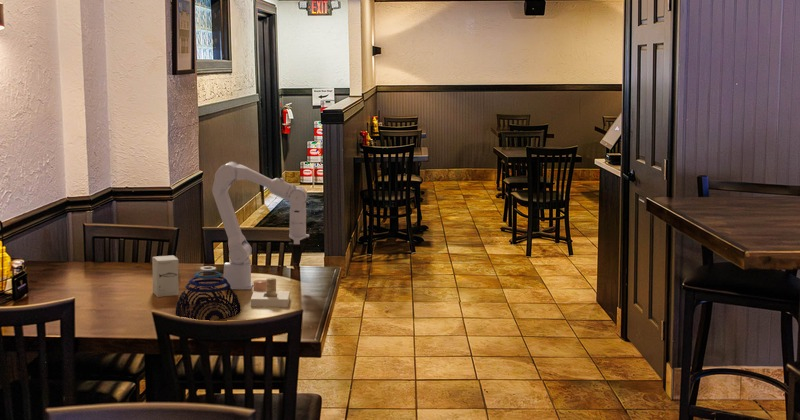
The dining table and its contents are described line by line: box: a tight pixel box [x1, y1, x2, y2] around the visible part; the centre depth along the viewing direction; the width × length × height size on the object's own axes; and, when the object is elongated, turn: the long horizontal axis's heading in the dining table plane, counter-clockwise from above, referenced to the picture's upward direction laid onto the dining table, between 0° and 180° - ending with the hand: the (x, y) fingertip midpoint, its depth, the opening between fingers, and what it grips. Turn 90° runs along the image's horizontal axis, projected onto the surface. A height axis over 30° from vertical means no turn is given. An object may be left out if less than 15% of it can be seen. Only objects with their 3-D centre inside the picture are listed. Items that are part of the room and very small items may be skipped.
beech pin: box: [265, 277, 277, 297], centre depth 286 cm, size 3×3×8 cm
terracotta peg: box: [252, 279, 266, 292], centre depth 294 cm, size 5×5×5 cm
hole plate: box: [250, 290, 291, 308], centre depth 287 cm, size 12×10×2 cm
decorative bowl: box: [175, 265, 242, 321], centre depth 273 cm, size 20×20×14 cm
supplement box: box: [151, 254, 180, 298], centre depth 292 cm, size 7×7×13 cm
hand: (297, 260), depth 303 cm, fingers open, 7 cm apart
